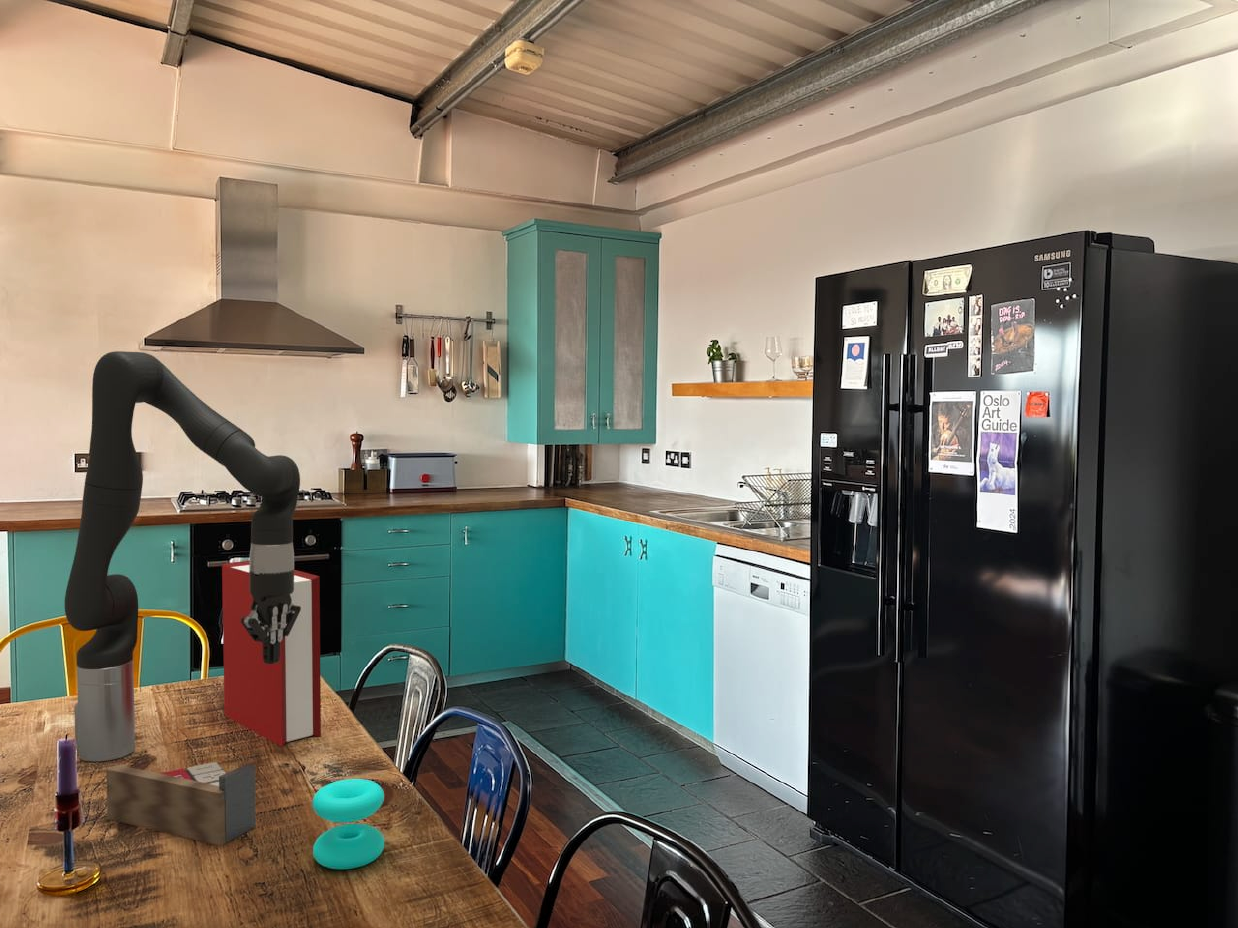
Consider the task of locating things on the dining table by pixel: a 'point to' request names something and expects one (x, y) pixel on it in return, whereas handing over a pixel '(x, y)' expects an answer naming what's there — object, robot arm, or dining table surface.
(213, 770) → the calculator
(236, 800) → the bookend
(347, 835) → the donuts
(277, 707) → the book
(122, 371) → the robot arm
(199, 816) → the mottled stone block
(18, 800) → the dining table surface
